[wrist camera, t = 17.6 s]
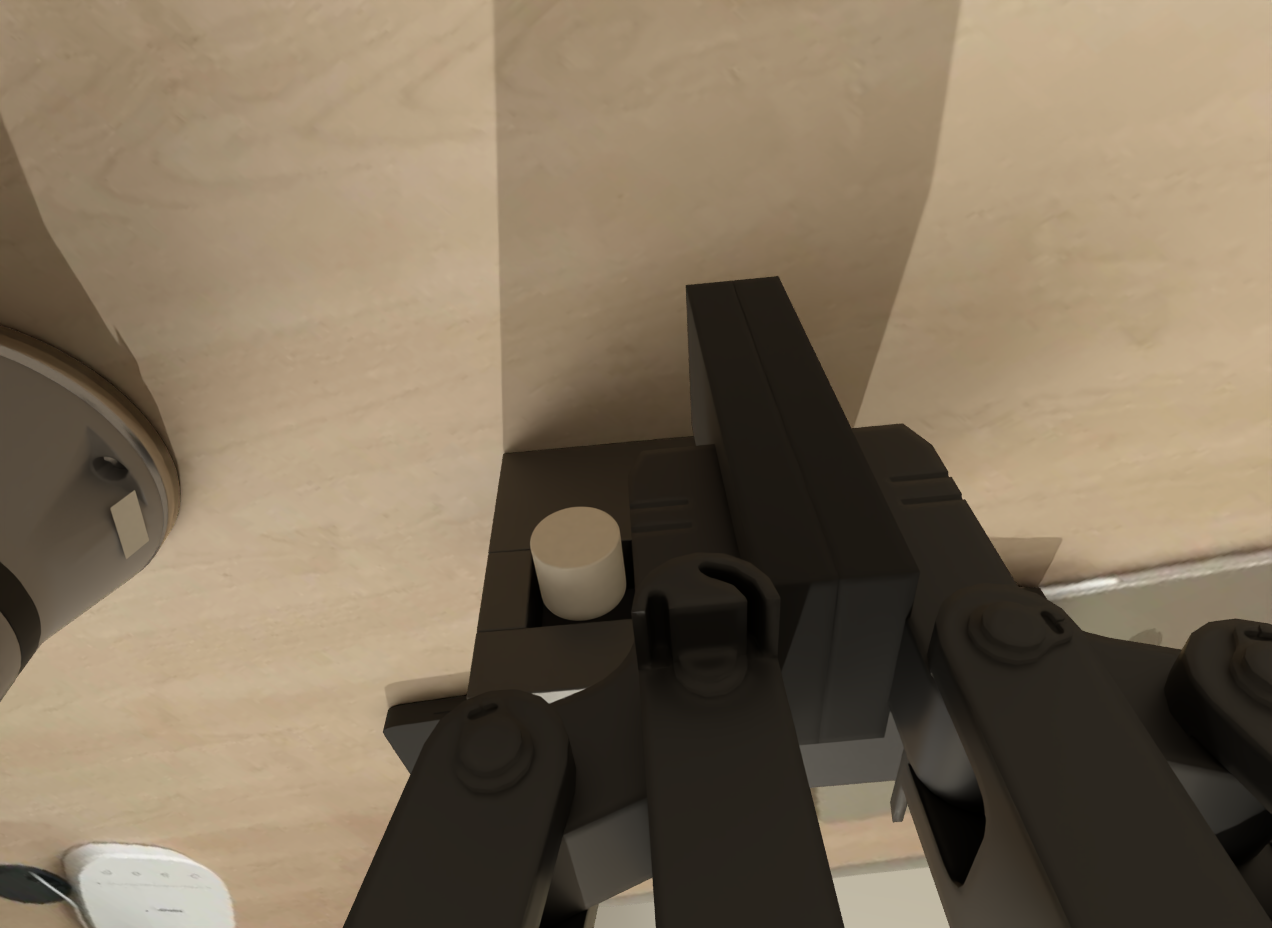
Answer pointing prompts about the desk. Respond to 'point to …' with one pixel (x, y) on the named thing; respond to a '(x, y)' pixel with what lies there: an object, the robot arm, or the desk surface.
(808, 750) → the dock
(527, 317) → the desk surface
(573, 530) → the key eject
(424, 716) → the smart home device
